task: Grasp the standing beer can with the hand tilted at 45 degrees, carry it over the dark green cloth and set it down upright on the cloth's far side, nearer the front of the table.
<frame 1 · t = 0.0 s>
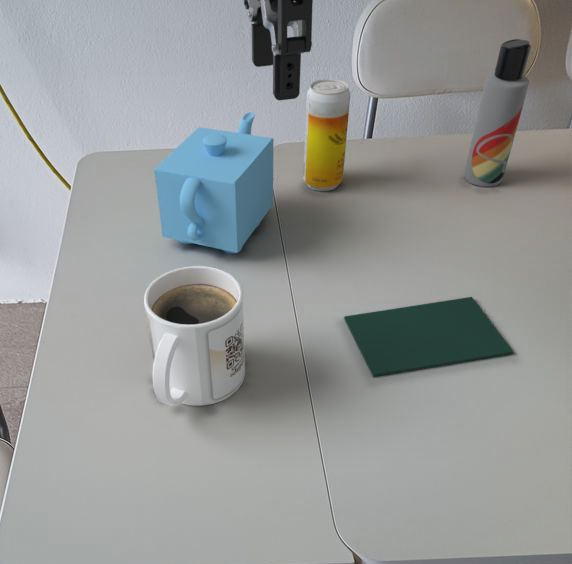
hand: (274, 80, 59), 28 cm above the table, tool pointing down, fingers open, 8 cm apart
cloth: (425, 335, 74), on the table
mug: (193, 380, 71), on the table
beer can: (322, 184, 101), on the table
teapot: (224, 225, 93), on the table
lotion bottle: (482, 179, 100), on the table
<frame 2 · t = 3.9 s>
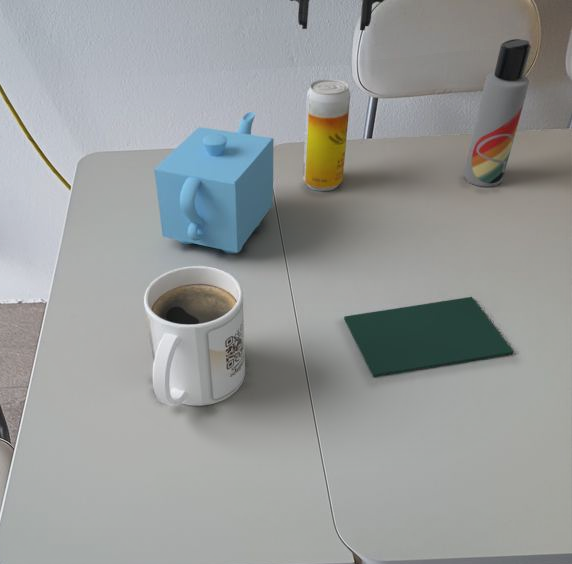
hand: (333, 27, 95), 19 cm above the table, tool tilted 45°, fingers open, 8 cm apart
nothing on the table moved.
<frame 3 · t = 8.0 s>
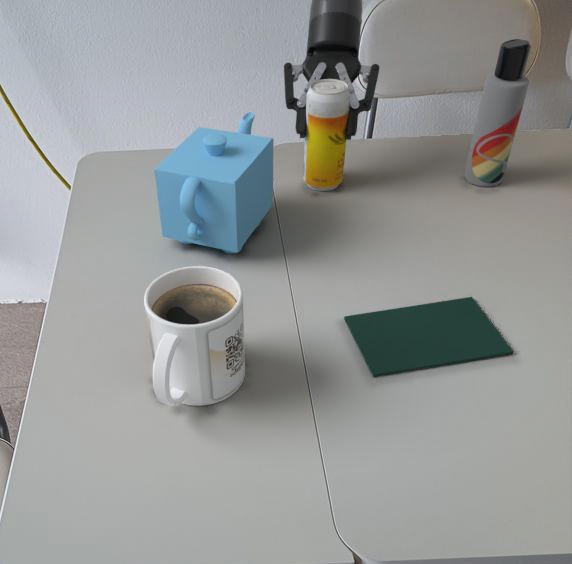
hand: (325, 136, 94), 8 cm above the table, tool tilted 45°, fingers closed on beer can, 6 cm apart
beer can: (322, 184, 101), on the table, touching gripper
everything else where it was.
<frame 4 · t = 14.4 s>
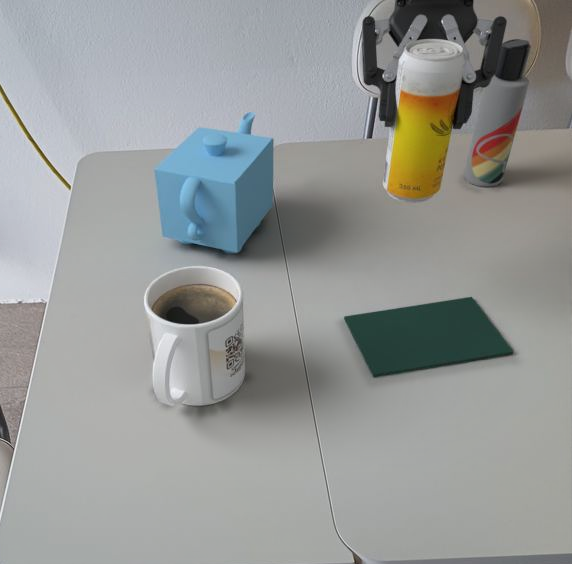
hand: (423, 124, 64), 22 cm above the table, tool tilted 45°, fingers closed on beer can, 6 cm apart
beer can: (409, 192, 71), point 13 cm above the table, touching gripper
everything else where it was.
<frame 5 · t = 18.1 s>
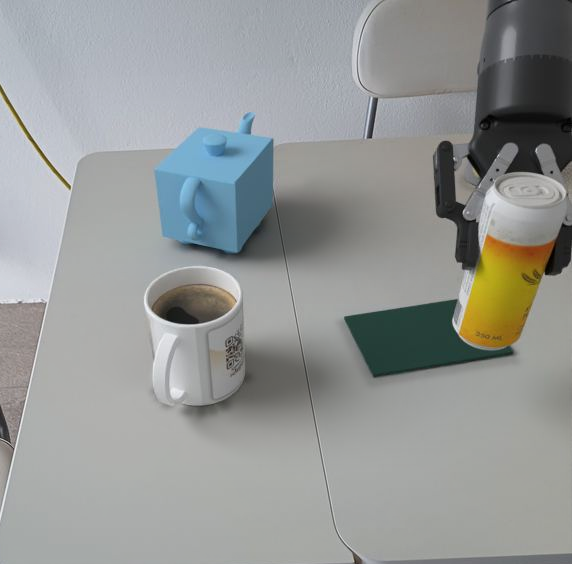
hand: (510, 270, 54), 17 cm above the table, tool tilted 45°, fingers closed on beer can, 6 cm apart
beer can: (483, 333, 61), point 9 cm above the table, touching gripper
everything else where it was.
when the fingers open (8 cm above the table, at t = 21.1 s): beer can stays where it is, on the table.
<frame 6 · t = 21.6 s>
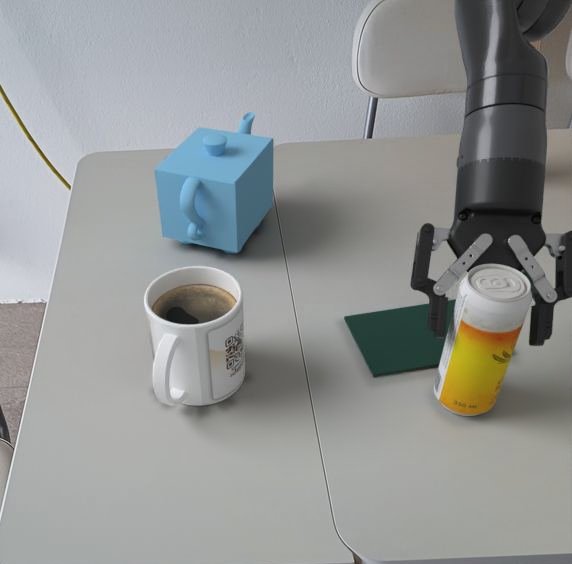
hand: (487, 341, 59), 9 cm above the table, tool tilted 45°, fingers open, 8 cm apart
beer can: (462, 399, 67), on the table
everything else where it was.
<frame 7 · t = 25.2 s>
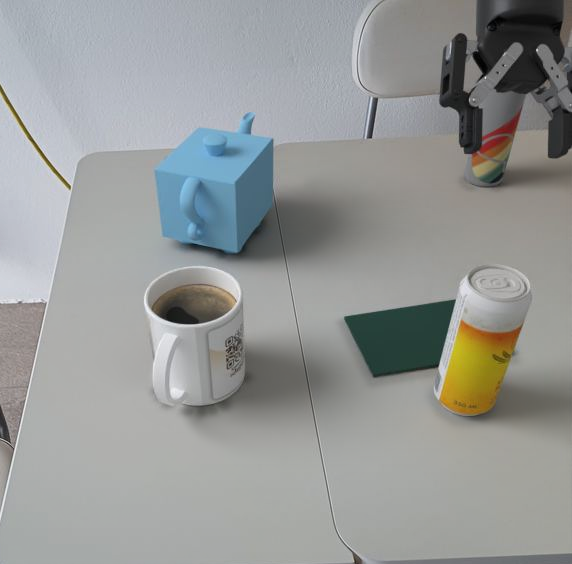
hand: (515, 154, 61), 21 cm above the table, tool tilted 40°, fingers open, 8 cm apart
nothing on the table moved.
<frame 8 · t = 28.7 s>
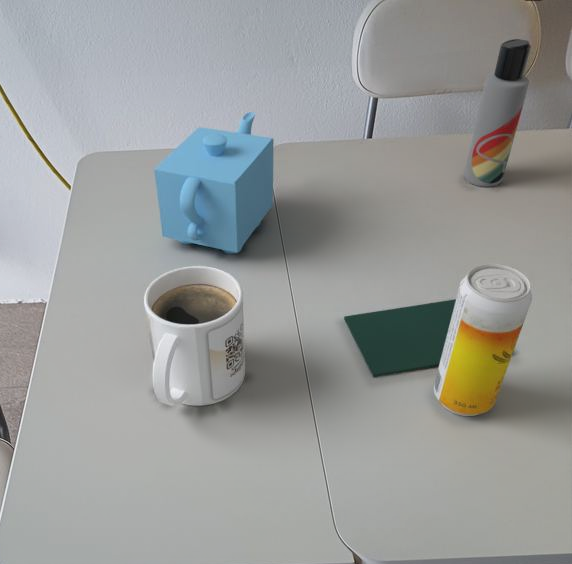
nothing on the table moved.
at the end: beer can inside the target area on the table beside the cloth (1.1 cm from its centre), on the table; beer can tilted 0°; the gripper is holding nothing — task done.
